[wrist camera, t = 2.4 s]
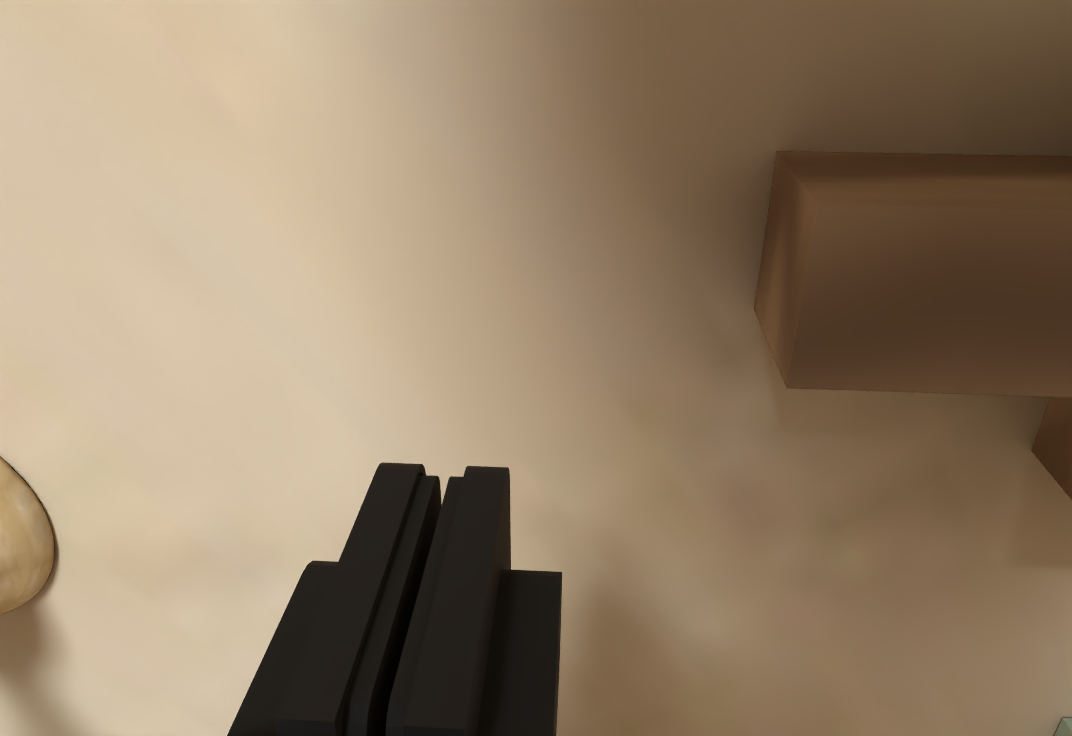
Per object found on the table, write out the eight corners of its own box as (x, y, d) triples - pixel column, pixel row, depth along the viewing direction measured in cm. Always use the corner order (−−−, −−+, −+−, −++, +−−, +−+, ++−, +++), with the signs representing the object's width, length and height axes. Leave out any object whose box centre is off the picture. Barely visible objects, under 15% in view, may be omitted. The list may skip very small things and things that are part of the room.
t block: (804, -43, 17) (860, -33, 13) (1415, -40, 16) (1640, -28, 13) (735, 439, 23) (761, 534, 19) (1183, 455, 22) (1294, 557, 19)
